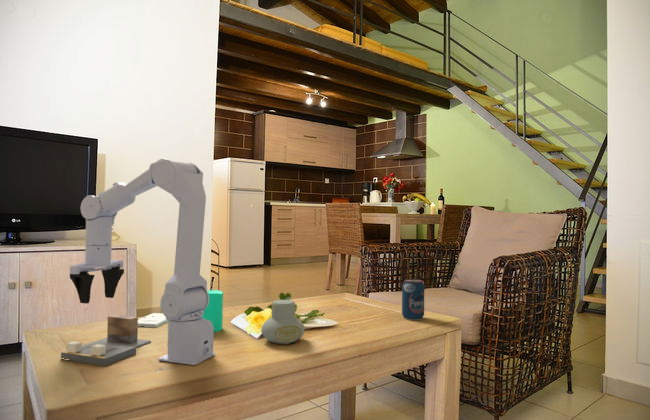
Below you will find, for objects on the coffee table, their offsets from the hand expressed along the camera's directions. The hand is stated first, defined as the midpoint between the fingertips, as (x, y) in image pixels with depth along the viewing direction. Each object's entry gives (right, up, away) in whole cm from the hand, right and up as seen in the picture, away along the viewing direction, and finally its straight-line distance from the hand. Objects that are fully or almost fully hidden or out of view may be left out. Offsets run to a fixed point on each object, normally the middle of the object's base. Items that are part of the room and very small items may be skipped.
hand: (97, 300), depth 108 cm
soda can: (+84, -12, +31) cm, 90 cm away
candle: (+25, -11, +14) cm, 30 cm away
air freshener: (+45, -11, +4) cm, 47 cm away
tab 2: (+7, -9, -14) cm, 18 cm away
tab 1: (+1, -9, -12) cm, 15 cm away
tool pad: (+6, -11, 0) cm, 12 cm away
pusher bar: (+6, -10, 0) cm, 12 cm away
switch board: (+6, -10, -11) cm, 16 cm away
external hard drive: (+5, -12, +22) cm, 25 cm away
